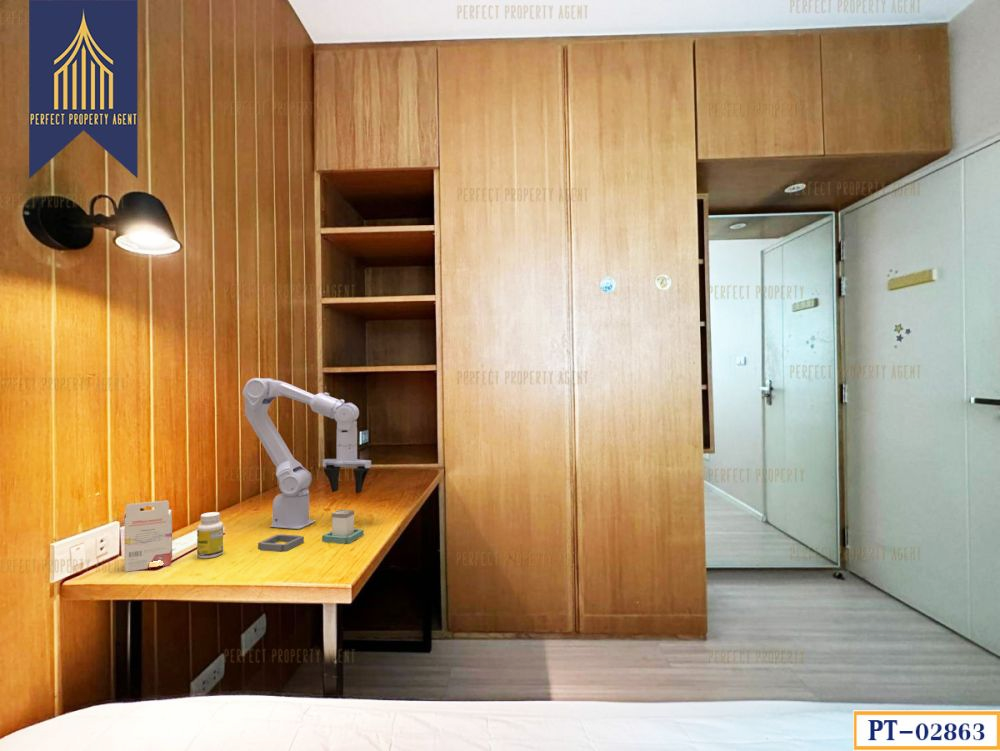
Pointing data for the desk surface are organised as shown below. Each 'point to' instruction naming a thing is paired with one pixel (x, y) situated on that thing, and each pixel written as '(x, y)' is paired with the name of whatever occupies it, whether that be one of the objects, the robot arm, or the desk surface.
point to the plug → (343, 523)
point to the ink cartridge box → (147, 535)
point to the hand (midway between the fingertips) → (346, 491)
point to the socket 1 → (272, 546)
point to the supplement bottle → (210, 536)
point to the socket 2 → (342, 537)
